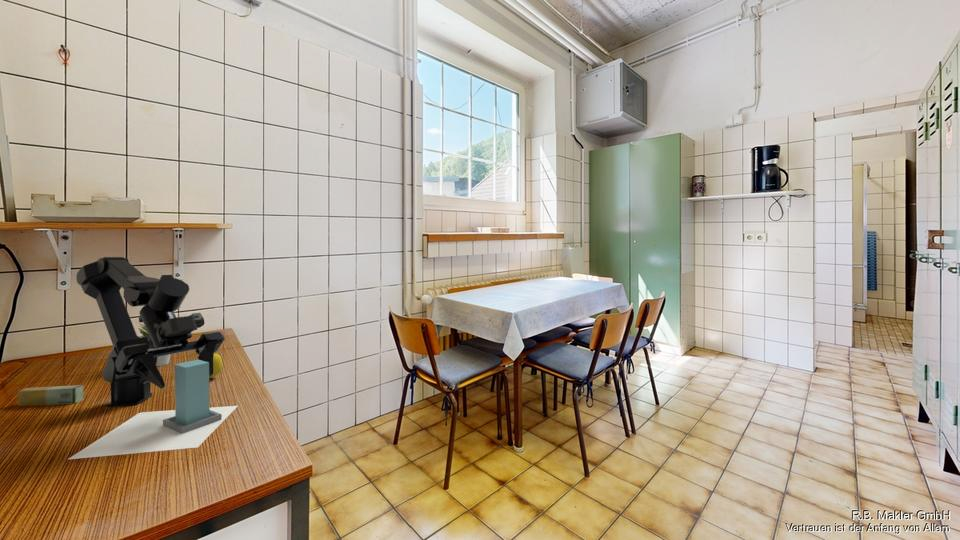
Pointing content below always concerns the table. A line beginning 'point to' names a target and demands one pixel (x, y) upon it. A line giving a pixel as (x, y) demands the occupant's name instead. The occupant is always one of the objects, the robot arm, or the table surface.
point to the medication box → (50, 395)
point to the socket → (182, 429)
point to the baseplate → (150, 435)
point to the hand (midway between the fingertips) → (188, 380)
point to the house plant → (160, 359)
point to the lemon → (216, 365)
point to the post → (191, 392)
